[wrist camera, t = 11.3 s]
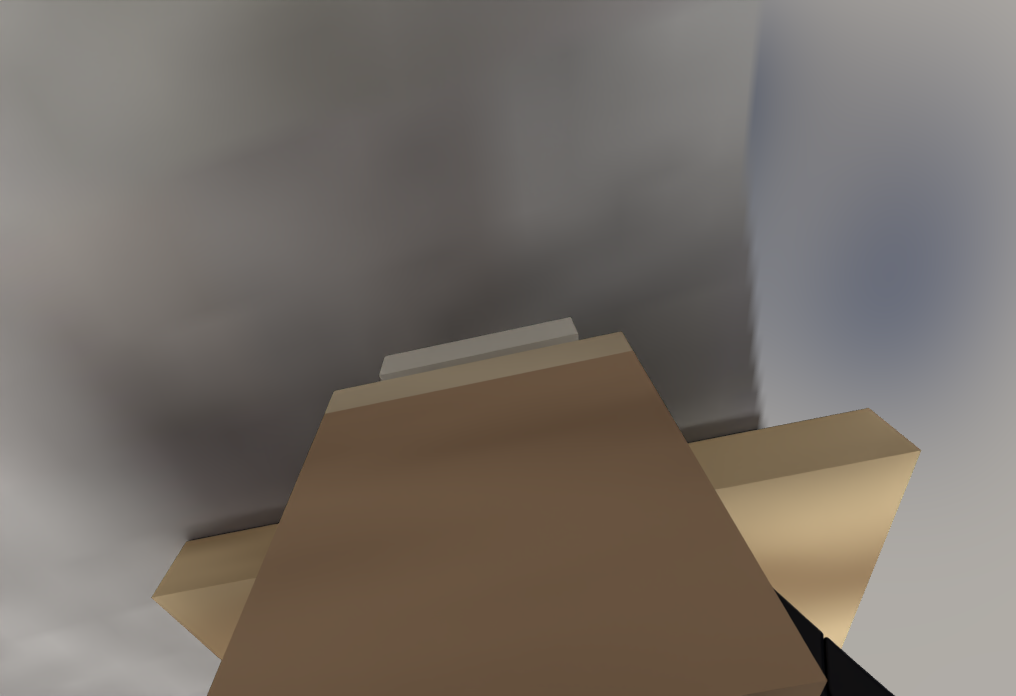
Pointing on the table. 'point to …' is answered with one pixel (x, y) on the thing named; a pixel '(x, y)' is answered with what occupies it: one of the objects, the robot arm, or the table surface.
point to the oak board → (742, 489)
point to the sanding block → (511, 548)
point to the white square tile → (479, 348)
